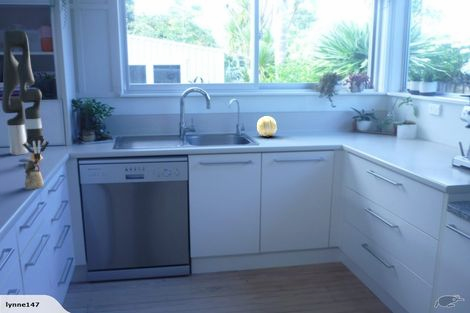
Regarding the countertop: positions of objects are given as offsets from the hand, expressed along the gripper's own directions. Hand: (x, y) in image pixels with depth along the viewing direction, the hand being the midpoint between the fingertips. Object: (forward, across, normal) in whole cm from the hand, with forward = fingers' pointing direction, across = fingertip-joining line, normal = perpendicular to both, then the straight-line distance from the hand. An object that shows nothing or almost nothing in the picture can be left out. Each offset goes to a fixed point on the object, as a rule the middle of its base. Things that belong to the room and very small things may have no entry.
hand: (37, 160), depth 223 cm
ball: (-1, 0, +4) cm, 4 cm away
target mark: (+1, 0, +14) cm, 14 cm away
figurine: (+4, -12, -47) cm, 49 cm away
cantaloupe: (+3, +154, -6) cm, 154 cm away
